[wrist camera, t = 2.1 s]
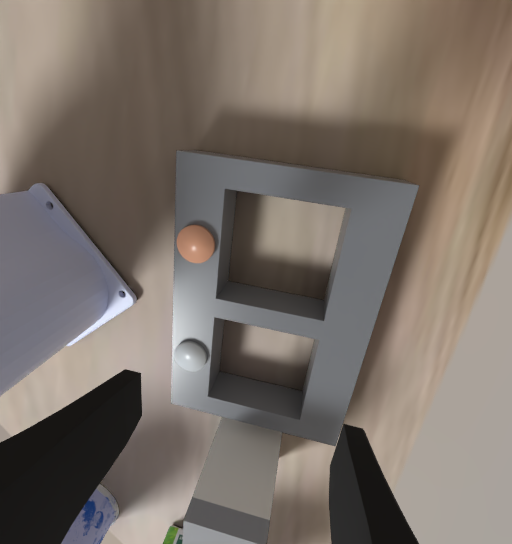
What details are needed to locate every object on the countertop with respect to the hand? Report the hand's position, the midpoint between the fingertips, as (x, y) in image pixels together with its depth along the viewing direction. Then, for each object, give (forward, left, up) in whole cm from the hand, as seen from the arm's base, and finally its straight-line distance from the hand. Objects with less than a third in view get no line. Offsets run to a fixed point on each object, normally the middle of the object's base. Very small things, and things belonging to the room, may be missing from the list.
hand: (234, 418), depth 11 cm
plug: (+9, -8, -10) cm, 15 cm away
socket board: (0, 0, -9) cm, 9 cm away
